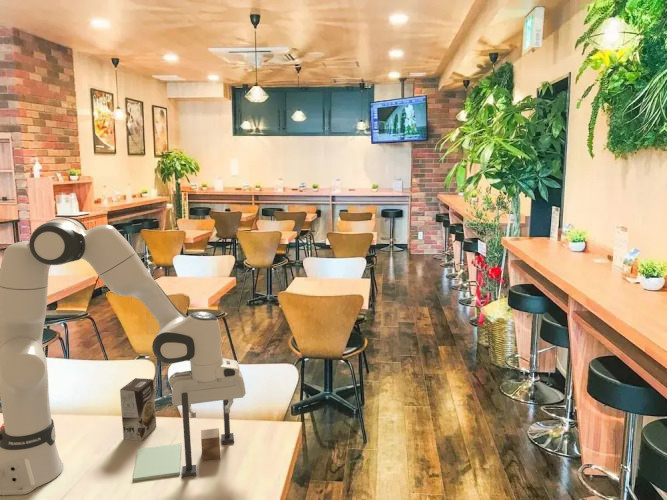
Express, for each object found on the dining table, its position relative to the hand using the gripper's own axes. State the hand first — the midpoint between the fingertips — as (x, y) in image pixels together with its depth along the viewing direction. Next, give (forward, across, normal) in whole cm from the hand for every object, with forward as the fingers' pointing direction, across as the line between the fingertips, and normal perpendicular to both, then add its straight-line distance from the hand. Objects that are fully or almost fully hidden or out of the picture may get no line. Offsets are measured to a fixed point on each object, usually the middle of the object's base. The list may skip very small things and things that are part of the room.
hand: (210, 414), depth 158 cm
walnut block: (+13, -1, 0) cm, 13 cm away
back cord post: (+13, +4, +7) cm, 15 cm away
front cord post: (+12, -7, -8) cm, 16 cm away
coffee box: (+12, -22, +18) cm, 31 cm away
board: (+12, -15, 0) cm, 19 cm away
